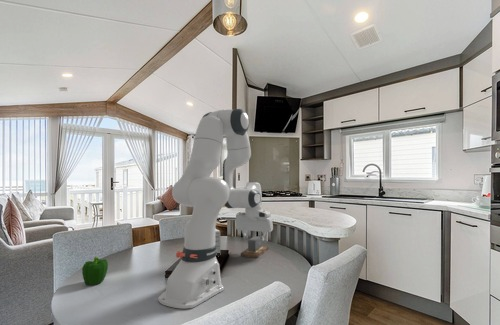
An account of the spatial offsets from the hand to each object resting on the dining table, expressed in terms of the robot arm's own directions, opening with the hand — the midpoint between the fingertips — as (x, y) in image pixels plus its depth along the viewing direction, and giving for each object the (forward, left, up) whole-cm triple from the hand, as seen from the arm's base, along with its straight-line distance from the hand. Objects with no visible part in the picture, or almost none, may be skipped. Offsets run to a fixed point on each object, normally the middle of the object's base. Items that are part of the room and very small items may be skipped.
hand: (253, 239), depth 125 cm
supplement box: (-11, +19, -7) cm, 23 cm away
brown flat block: (+1, 0, -7) cm, 7 cm away
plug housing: (+1, 0, -5) cm, 5 cm away
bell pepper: (-55, +43, -7) cm, 70 cm away
